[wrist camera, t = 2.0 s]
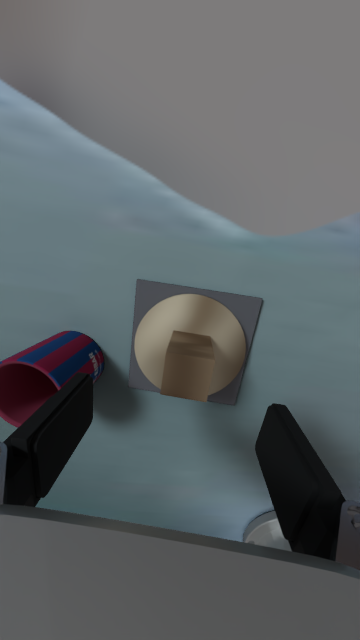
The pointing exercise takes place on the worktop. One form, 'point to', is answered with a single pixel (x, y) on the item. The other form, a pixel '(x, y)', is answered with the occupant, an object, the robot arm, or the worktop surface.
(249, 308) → the mat
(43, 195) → the worktop surface
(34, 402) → the mug
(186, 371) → the lid
